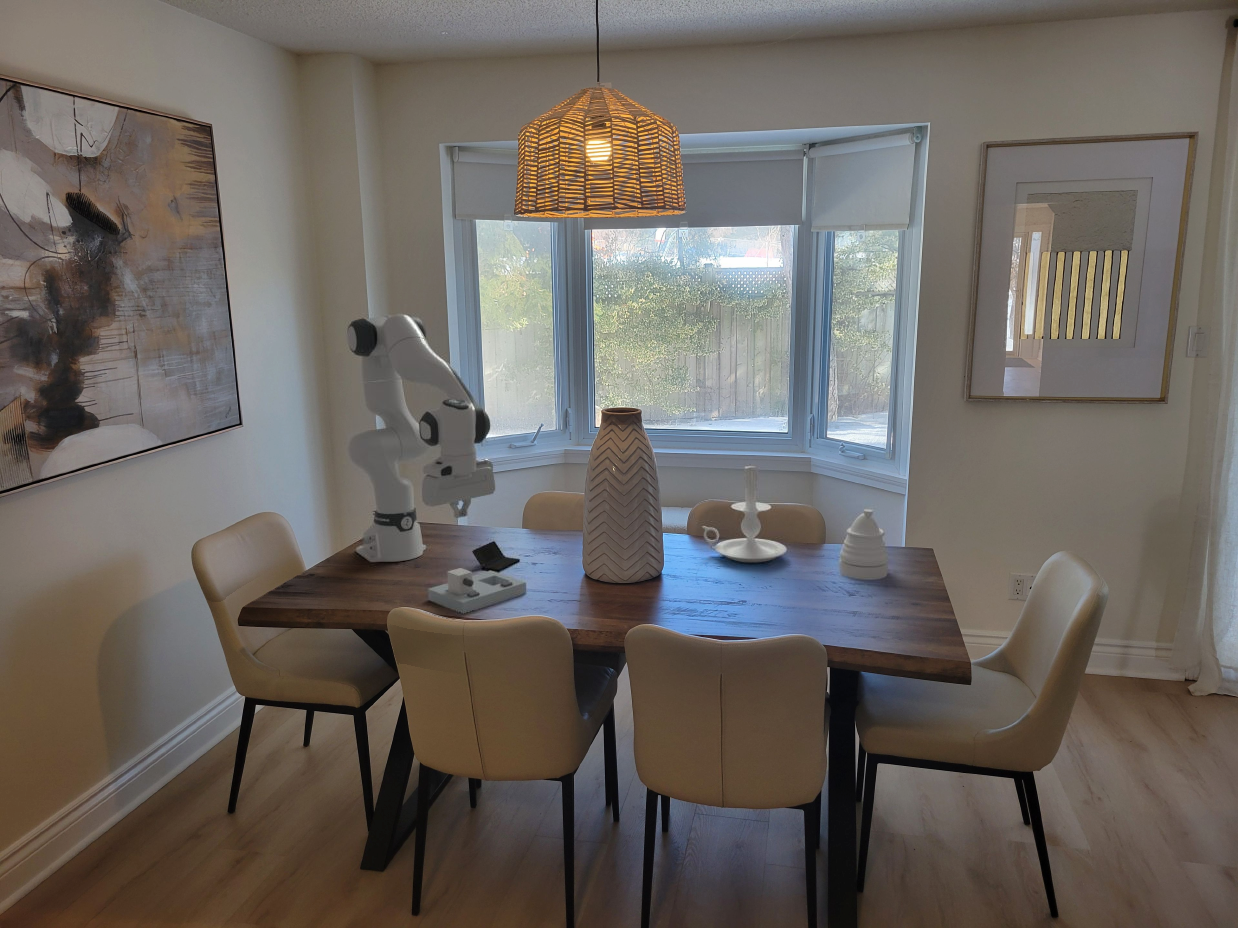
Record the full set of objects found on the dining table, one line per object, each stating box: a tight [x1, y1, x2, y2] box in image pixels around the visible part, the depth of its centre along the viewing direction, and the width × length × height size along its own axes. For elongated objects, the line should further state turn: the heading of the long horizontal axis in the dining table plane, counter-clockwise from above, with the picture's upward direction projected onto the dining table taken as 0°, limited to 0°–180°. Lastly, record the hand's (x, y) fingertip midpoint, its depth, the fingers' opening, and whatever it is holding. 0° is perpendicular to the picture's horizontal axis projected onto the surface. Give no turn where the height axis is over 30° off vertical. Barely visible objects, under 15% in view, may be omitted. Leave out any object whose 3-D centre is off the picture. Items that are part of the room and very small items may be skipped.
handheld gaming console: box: [471, 540, 521, 573], centre depth 248 cm, size 12×7×10 cm
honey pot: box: [838, 508, 889, 581], centre depth 234 cm, size 13×13×18 cm
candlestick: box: [701, 463, 787, 564], centre depth 248 cm, size 21×25×28 cm
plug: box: [446, 567, 474, 596], centre depth 217 cm, size 7×4×8 cm, turn 46°
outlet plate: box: [427, 570, 527, 615], centre depth 222 cm, size 15×20×4 cm
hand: (460, 516), depth 220 cm, fingers closed
